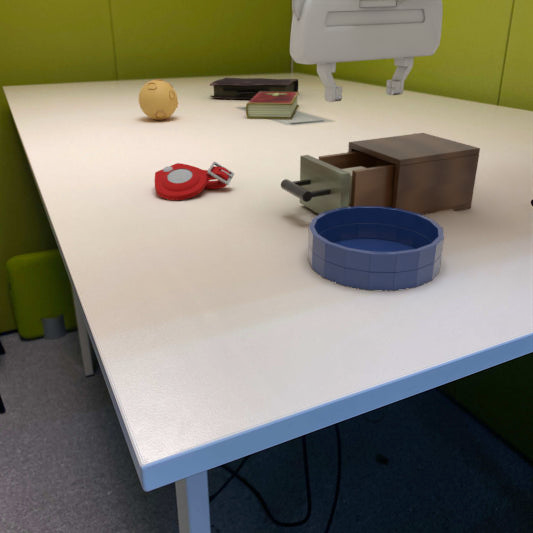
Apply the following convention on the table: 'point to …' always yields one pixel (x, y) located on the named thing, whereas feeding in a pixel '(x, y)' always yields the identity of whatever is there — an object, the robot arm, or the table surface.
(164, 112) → the stress ball
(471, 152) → the cabinet
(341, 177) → the drawer
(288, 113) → the hardcover book
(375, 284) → the bowl
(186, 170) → the tracker holder
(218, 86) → the diary
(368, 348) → the table surface
